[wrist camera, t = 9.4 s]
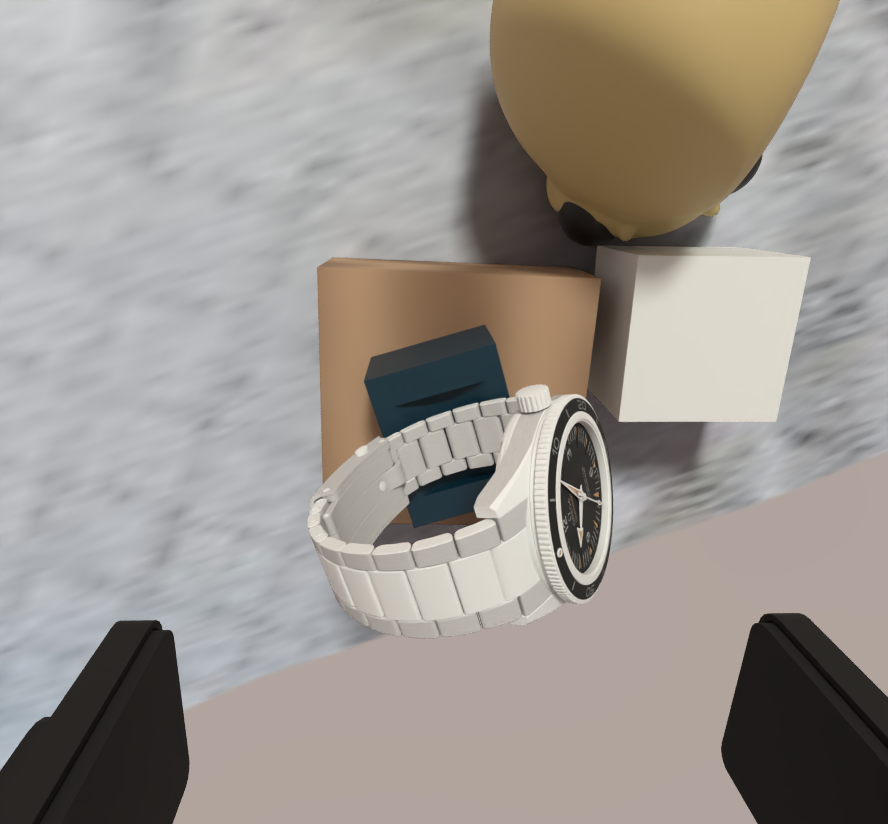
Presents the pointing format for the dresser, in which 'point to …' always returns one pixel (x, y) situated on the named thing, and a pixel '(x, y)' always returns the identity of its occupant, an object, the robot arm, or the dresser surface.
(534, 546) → the watch
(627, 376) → the off-white block
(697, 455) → the dresser surface
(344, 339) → the walnut block
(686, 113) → the beige rounded piece
